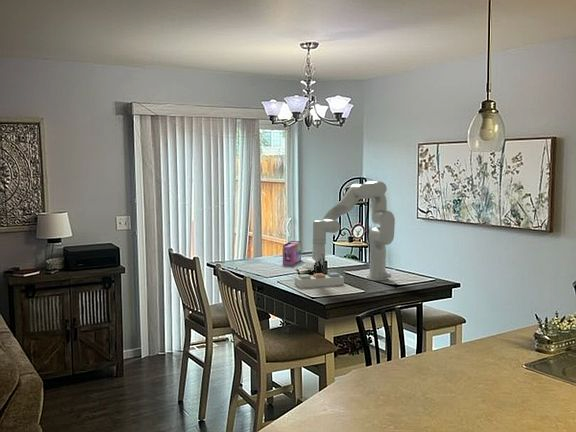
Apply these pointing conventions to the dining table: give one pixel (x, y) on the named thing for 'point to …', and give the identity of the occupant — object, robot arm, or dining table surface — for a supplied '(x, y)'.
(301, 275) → the sage button
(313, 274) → the terracotta button
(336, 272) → the slate button
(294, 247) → the gum box
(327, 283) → the button panel
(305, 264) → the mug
